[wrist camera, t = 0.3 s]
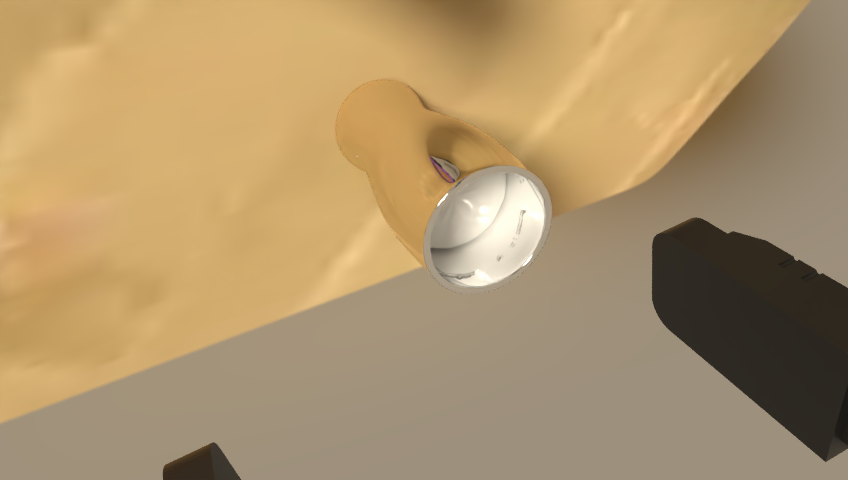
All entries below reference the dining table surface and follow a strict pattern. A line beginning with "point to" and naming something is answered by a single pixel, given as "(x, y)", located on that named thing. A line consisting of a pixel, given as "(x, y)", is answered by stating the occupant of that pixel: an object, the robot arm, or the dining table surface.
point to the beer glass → (445, 188)
